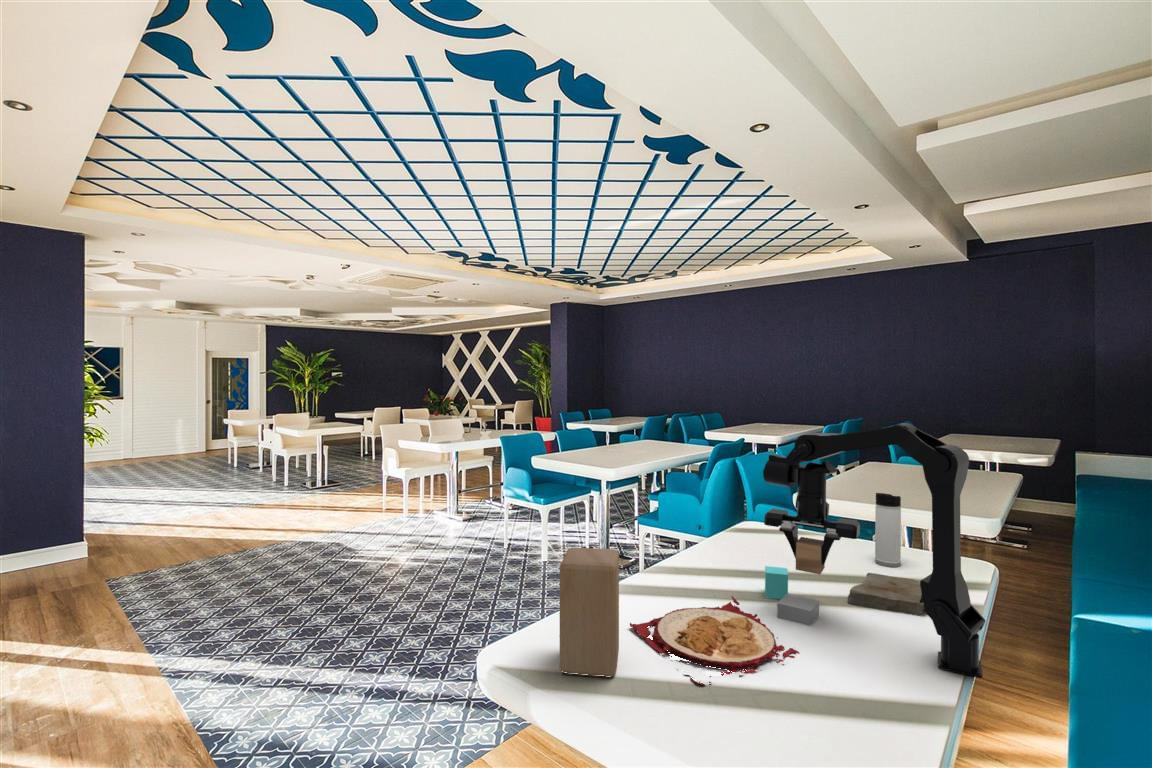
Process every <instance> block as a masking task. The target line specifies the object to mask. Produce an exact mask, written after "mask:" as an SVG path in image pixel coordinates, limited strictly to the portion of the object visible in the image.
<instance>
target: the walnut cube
mask: <svg viewBox="0 0 1152 768" xmlns="http://www.w3.org/2000/svg"><path fill="white" fill-rule="evenodd" d="M823 542H824V539H823V540H822V539H818V538H817V539H816V538H811V537H804V536H801V537H800V538H798V541H797V542H796V559H795V570H796V571H801V572H806V573H810V574H811V573H812V574H817V575H822V573H823V571H824V569H825V565H826V564H824V565H822V551H823Z"/></svg>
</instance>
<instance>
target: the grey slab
mask: <svg viewBox="0 0 1152 768" xmlns="http://www.w3.org/2000/svg"><path fill="white" fill-rule="evenodd" d="M776 606H777V607H776V610H777V611H776V617H777V619H780V620H784V621H788V622H791V623H796V624H800V625H804V626H809V627H812V626H813V624H814V623H815V621H816V620H817V619H818V617H819V616H820V600H818V599H814V598H809V597H805V596H801V595H796V594H791V593H789V592H788V593H787V594H786V595H785V596H784V597H783V598H782V599H779V601H778V602H777V603H776Z"/></svg>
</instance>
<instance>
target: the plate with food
mask: <svg viewBox="0 0 1152 768" xmlns="http://www.w3.org/2000/svg"><path fill="white" fill-rule="evenodd" d="M730 597H731V599H732V601H733V603H734V605H733V604H732V602H731V601H729V602H728V603H726V604H723V605H722V606H721V607H720V606H716V607H705V606H703V607H687V608H686V607H684V608H683V607H682V608H681V609H676V610H672V611H670V612H667V613H666V614H665V615H664V616H660V617H658V618H653V619H651V620H649V622H642V623H639V624H638V623H637V624H636V623H632V622H629V627H631V628H632V629H633V631H636V633H637V634H638V635H639V636H640V637H643V638H644V639H645V641H646V643H647V644H648V645H650V647H651V648H653V649H654V650H655V651H658V653H659V654H660V653H667V654H674V655H675V656H678V657H680V658H683V659H686V660H689V661H691V662H693V663H697V664H701V665H704V666H703V667H705V668H706V666H708V667H709V666H711V667H716V668H721V669H727V670H729V671H730V672H727V671H723V672H724V673H726V674H727V675H732V674H733V673H732V672H735V673H742V672H741V671H740V672H738V671H739V670H743V669H744V670H743V675H740V674H739V675H738V676H739V678H740V677H745V675H744V674H745V673H746V674H747V675H748V674H753V673H758V671H756V670H757V669H758V667H756V666H758V665H761V664H763V663H764V662H765V661H768V660H773V657H776V659H777V658H779V657H780V656H781V657H783V658H782V659H778V660H777V661H776V663H777V664H779V663H781V662H782V663H781V666H785V663H784V660H786V658H790V659H795V657H796V655H797V654H800V652H799V650H796V649H795V648H796V647H794V648H793V647H789V649H787V650H786V648H785V646H783V645H782V644H780V645H777V642H776V639H777V640H779V638H778V637H777V636H776V639H775V634H774V633H773V632H772V631H771V629H770V628H769V627H767V626H766V624H765V623H762V622H761V618H759V617H758V614H757V613H755V614H754V615H753V613H750V612H749V613H747V612H744V611H743V610H741V608H740V607H739V605H740V602H739V601H738V600H737V599H736V598H735V597H734V596H733V595H731V596H730ZM653 625H654V626H653ZM648 626H652V627H653V634H652V633H651V630H650V628H647V627H648ZM651 634H652V637H653V640H651V639H650V638H647V637H648V636H649V635H651ZM667 650H668V651H667ZM668 652H670V653H668ZM779 652H782V655H780V653H779ZM790 653H794V654H795V656H794V655H790ZM667 654H666V655H667ZM660 655H661V654H660ZM671 657H672V656H671ZM688 663H689V662H688ZM693 663H692V664H693ZM697 664H696V665H697ZM701 665H700V666H701ZM738 669H739V670H738ZM745 669H746V670H747V671H746V670H745ZM731 671H732V672H731ZM744 671H745V672H744ZM760 671H763V670H762V669H760ZM720 672H721V673H723V672H722V671H720ZM724 673H723V674H721V675H722V676H723V675H724ZM730 673H731V674H730ZM692 678H693V677H692ZM692 678H691V677H690V680H691V681H692V682H694V680H693V679H692ZM700 682H701V681H699V683H697V684H698V685H703V683H704V682H703V683H700ZM708 682H709V683H711V684H712V682H711V681H708ZM694 683H695V682H694Z"/></svg>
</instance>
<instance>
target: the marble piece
mask: <svg viewBox="0 0 1152 768" xmlns="http://www.w3.org/2000/svg"><path fill="white" fill-rule="evenodd" d="M921 595H922V593H921V587H920V581H918V580H917V579H914V578H907V577H900V576H890V575H885V574H880V573H873V572H867V573H866V579H864V580H863V582H862V583H860V584H857V585H853V586H852V587H851V588H850V590H849V593H848V595H847V603H848V604H849V605H853V606H859V607H865V608H871V609H877V610H883V611H890V612H897V613H901V614H902V613H903V614H908V615H914V616H921V615H922V614H923V612H924V603H920V602H919V601H920V599H921Z"/></svg>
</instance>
